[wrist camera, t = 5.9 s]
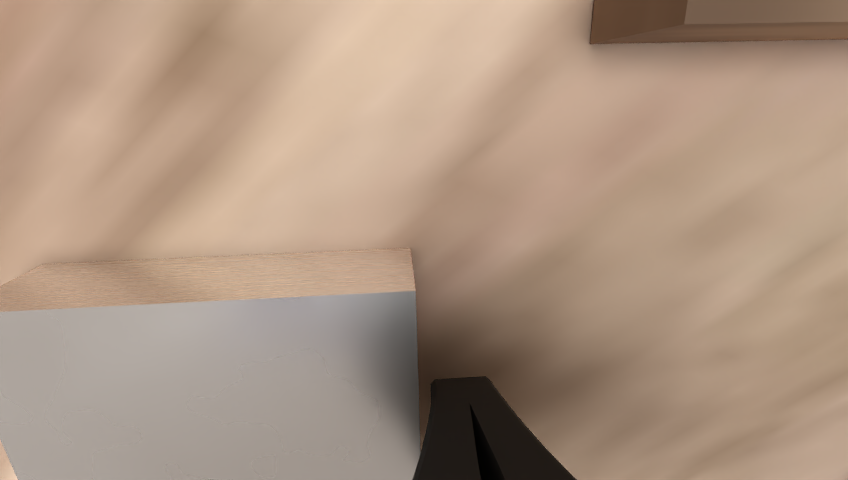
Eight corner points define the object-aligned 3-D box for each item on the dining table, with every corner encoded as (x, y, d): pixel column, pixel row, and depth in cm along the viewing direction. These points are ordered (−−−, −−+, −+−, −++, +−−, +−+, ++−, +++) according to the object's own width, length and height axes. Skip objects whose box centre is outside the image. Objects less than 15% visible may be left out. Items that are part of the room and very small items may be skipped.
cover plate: (409, 243, 10) (416, 290, 8) (418, 497, 13) (424, 589, 11) (52, 259, 10) (-54, 314, 7) (138, 519, 12) (79, 620, 10)
